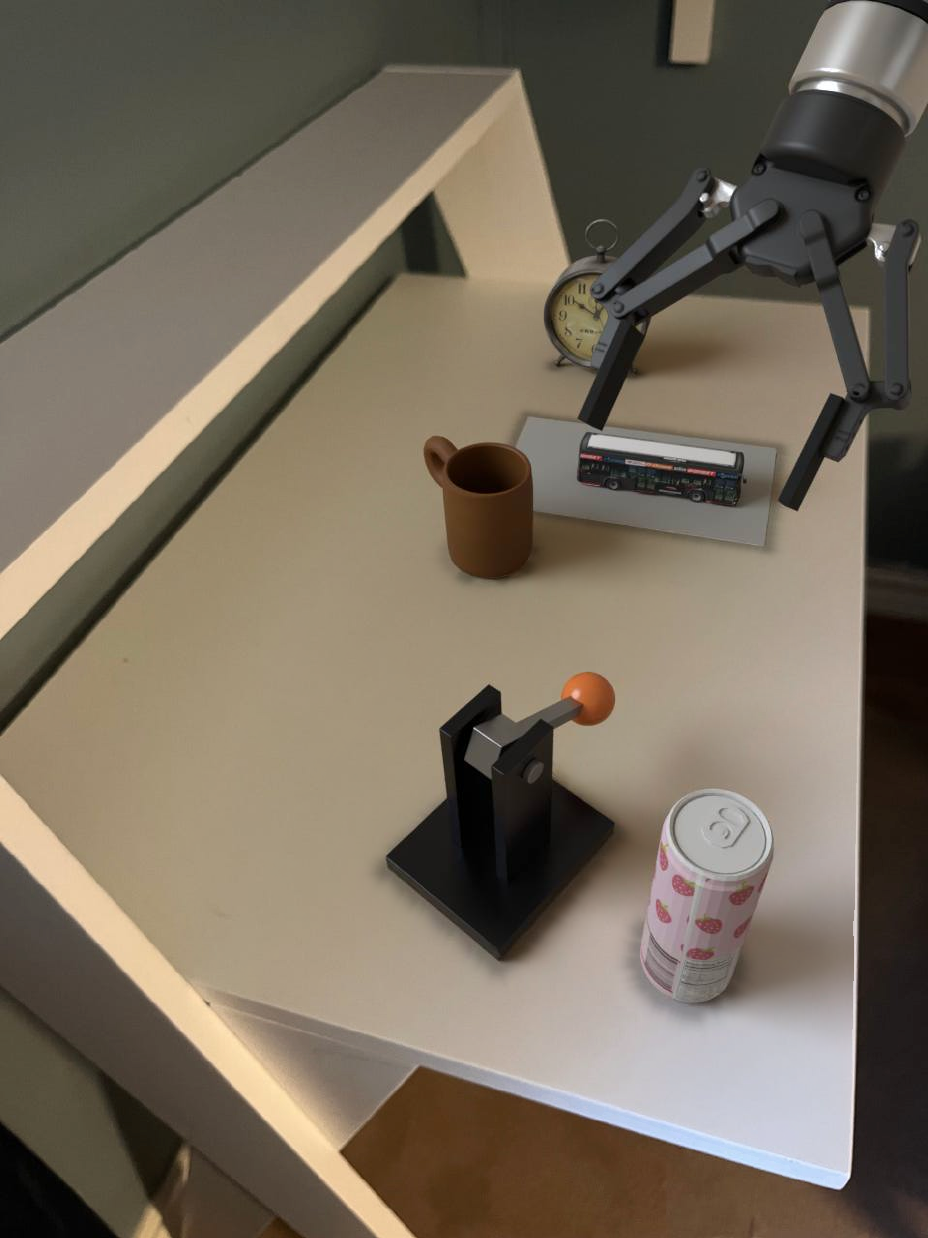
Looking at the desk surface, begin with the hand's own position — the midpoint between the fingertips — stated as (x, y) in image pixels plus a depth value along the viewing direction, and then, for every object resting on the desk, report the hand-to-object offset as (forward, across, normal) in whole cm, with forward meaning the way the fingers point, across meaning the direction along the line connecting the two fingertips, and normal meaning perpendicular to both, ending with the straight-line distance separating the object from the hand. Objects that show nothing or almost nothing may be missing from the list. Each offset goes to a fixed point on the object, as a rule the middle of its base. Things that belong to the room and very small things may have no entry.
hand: (683, 464), depth 59 cm
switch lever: (+20, 0, +1) cm, 20 cm away
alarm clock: (-8, +28, -42) cm, 51 cm away
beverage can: (+28, -13, -2) cm, 31 cm away
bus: (+1, +14, -31) cm, 34 cm away
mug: (+12, +21, -19) cm, 31 cm away
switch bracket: (+28, 0, -1) cm, 28 cm away
